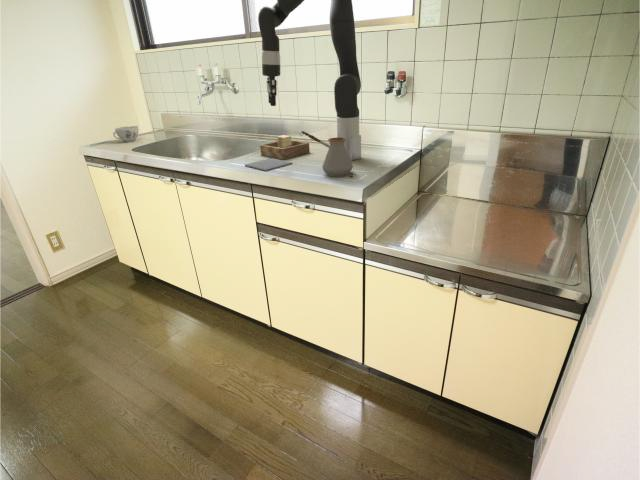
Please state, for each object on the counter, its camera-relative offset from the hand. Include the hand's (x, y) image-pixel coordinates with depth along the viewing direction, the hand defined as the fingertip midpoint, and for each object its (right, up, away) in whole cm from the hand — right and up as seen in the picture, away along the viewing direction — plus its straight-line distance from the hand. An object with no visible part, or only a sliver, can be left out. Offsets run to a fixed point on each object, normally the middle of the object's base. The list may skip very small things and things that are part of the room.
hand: (272, 104), depth 164 cm
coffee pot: (+23, -33, -20) cm, 46 cm away
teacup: (-93, -1, +59) cm, 110 cm away
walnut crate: (+5, -19, +12) cm, 23 cm away
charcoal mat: (-1, -28, -6) cm, 28 cm away
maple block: (+5, -19, +12) cm, 23 cm away
